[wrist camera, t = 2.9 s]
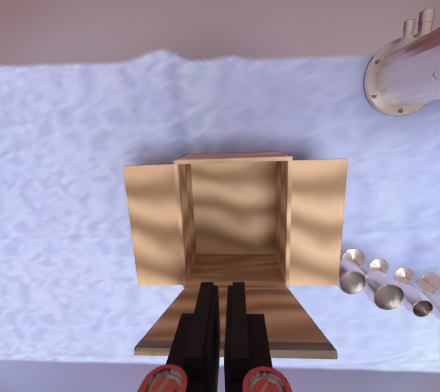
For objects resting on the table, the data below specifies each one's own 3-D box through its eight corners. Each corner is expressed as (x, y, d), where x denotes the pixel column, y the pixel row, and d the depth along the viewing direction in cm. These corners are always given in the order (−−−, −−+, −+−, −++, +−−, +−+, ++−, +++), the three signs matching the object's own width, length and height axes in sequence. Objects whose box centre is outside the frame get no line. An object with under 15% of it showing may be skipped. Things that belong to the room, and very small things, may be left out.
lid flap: (134, 347, 23) (134, 355, 23) (337, 351, 22) (337, 359, 22) (184, 288, 44) (184, 291, 44) (287, 288, 43) (287, 292, 43)
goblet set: (311, 259, 55) (335, 297, 42) (322, 235, 53) (350, 267, 40) (434, 298, 55) (495, 348, 42) (448, 275, 54) (515, 320, 41)
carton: (148, 155, 51) (122, 162, 40) (321, 149, 49) (348, 154, 37) (158, 256, 56) (138, 287, 45) (315, 254, 54) (337, 288, 42)
